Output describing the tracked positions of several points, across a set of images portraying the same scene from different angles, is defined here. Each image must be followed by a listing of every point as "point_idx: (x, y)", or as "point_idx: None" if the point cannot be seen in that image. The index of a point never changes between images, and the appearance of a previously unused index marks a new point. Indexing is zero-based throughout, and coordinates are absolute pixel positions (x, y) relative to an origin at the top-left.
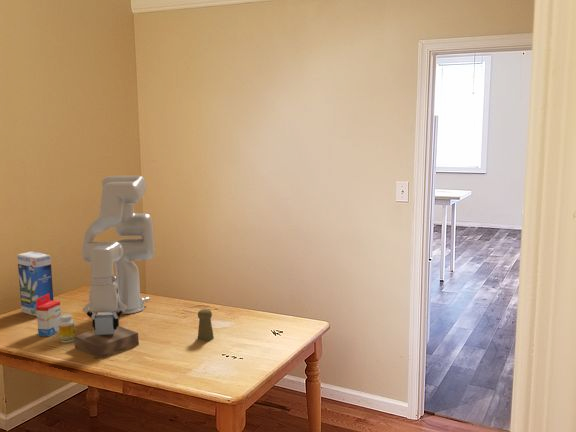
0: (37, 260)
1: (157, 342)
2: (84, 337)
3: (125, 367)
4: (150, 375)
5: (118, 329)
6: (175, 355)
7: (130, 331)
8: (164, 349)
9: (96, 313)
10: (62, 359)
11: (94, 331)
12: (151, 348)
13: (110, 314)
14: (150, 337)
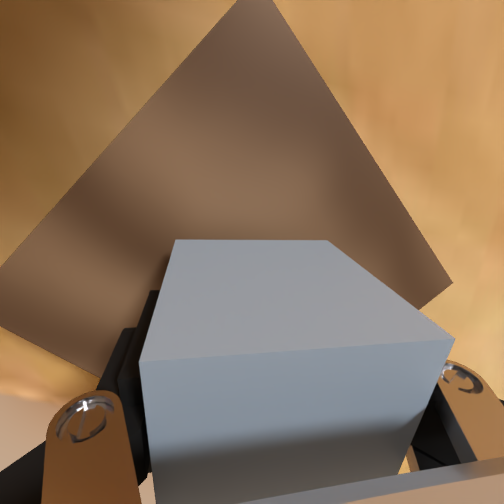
0: None
1: (481, 229)
2: (87, 340)
3: None
4: (399, 473)
5: (329, 195)
6: (499, 361)
7: (412, 254)
8: (483, 311)
9: (125, 488)
10: (46, 399)
11: (120, 215)
12: (440, 298)
13: (371, 415)
14: (469, 145)
